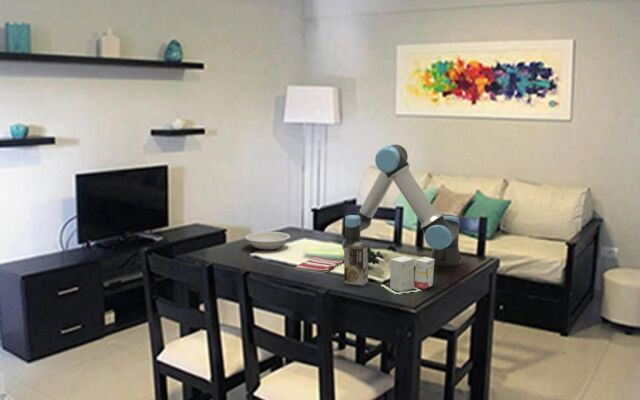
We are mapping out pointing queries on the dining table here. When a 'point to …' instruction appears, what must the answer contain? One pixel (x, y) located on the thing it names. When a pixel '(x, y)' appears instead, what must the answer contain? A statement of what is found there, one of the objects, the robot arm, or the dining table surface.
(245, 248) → the dining table surface
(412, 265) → the small box
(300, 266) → the dish towel
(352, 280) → the coffee box
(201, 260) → the dining table surface
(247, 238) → the soup bowl
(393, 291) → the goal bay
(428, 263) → the ink box
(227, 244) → the dining table surface
